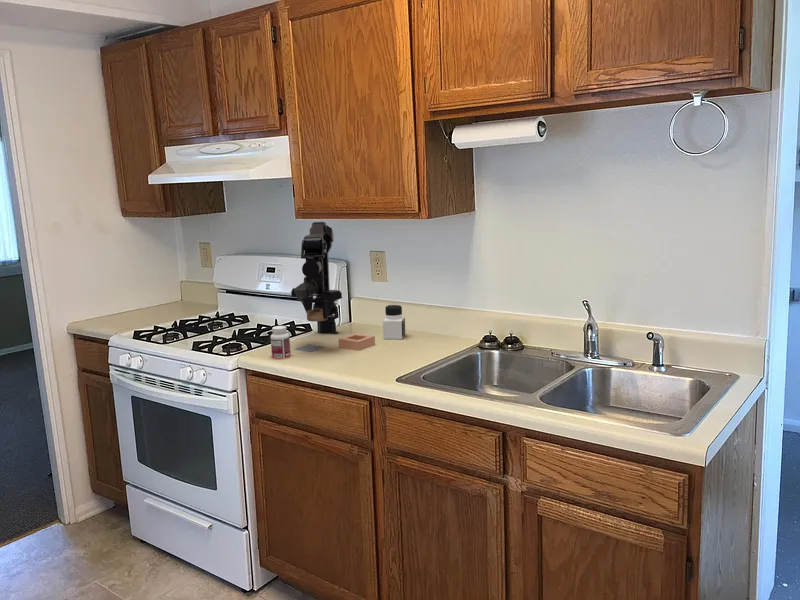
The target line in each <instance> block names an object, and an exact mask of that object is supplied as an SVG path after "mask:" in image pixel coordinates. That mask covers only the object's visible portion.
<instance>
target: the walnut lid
mask: <svg viewBox="0 0 800 600" xmlns="http://www.w3.org/2000/svg"><path fill="white" fill-rule="evenodd" d="M327 319H328V318H327ZM327 319H325V320H327ZM306 320H307V321H308V322H317V321H324V316H323V309H320V308H314V309H313V308H312V309H311V310H307V313H306Z"/></svg>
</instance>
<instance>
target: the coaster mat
mask: <svg viewBox="0 0 800 600" xmlns="http://www.w3.org/2000/svg"><path fill="white" fill-rule="evenodd" d="M324 348H325V346H324V345H317V344H310V343H308V344H305V345H302V346H298V347H295V348H293V350H296V351H302V352H307V353H312V352H315V351H318V350H322V349H324Z"/></svg>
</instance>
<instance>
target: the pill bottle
mask: <svg viewBox="0 0 800 600" xmlns="http://www.w3.org/2000/svg"><path fill="white" fill-rule="evenodd" d="M271 331H272V334H271V335H270V345H271V347H270V348H271V358H272V359H274V360H284V359H288V358H291V356H292V355H291V353H292V352H291V341H290V334H289V333H288V332H287V326H286V325H277V326H276V325H275V326H273V327H272V329H271Z"/></svg>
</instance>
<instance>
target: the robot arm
mask: <svg viewBox="0 0 800 600" xmlns="http://www.w3.org/2000/svg"><path fill="white" fill-rule="evenodd" d="M334 238H335V237H334V232H333V228H332V227H330V226H329V225H327V222H325V221H314V222H311V227H310V228H309V234H307V235H305V236H304V237H303V240H301V249H300V259H305V262H304V263H303V264H302V267H301V271H302V274H303V275H304V277H303V282H302V283H300V284H298V285H297V286H296V287H294V288H292V290H291V291H290V294H291V297H292V298H295V299H296V300H298V301H299V302H301V304H302V305H303V308H304V310H305V313H306V314H307V310H311V309H314V308H320V309H323V316H324V321H316V323H317V333H320V334H329V335H330V334H331V335H335V334H338V333H339V331H338V330H337V322H336V320H337V319H339V306H337V303H336V301H337V300H340V299H343V295H342V292H341V290H339V289H331V288H330V266H329V265H330V264H329V252H330V251H331V249H332V247H333V243H334ZM314 297H315V298H314ZM313 300H314V301H313ZM313 302H314V303H313ZM327 318H328V319H327ZM325 319H327V320H325Z"/></svg>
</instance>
